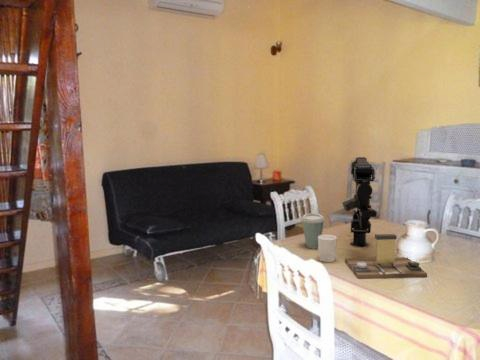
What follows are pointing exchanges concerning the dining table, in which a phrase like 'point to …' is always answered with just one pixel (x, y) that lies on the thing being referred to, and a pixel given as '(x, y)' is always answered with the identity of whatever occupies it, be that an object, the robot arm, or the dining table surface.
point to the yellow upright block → (385, 250)
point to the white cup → (327, 247)
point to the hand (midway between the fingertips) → (362, 228)
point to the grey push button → (362, 265)
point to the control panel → (385, 269)
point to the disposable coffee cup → (312, 228)
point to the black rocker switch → (413, 263)
